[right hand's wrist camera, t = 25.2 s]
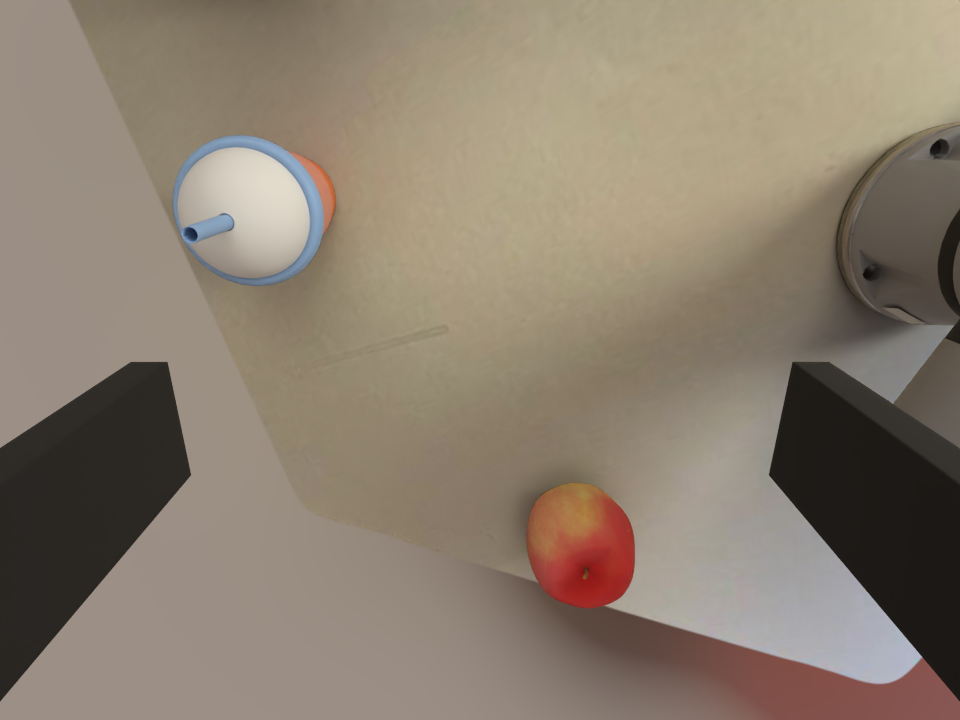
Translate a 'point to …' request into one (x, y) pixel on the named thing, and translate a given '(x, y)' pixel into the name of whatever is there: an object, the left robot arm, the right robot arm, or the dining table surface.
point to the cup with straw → (252, 209)
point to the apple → (580, 545)
